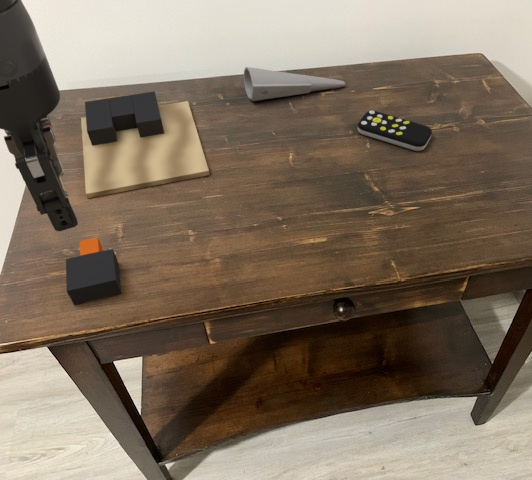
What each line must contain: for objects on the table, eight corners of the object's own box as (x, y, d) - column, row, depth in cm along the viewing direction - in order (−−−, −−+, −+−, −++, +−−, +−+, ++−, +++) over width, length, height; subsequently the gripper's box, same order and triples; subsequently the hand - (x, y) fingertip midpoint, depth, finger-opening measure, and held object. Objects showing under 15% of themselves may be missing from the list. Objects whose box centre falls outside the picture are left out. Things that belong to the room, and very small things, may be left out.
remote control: (422, 154, 92) (424, 145, 90) (354, 133, 95) (355, 124, 94) (432, 135, 96) (435, 126, 94) (367, 116, 99) (368, 106, 98)
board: (87, 198, 82) (85, 193, 81) (82, 122, 95) (80, 117, 95) (209, 175, 87) (208, 170, 86) (188, 105, 100) (187, 100, 99)
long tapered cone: (337, 54, 106) (244, 60, 100) (349, 73, 103) (253, 81, 96) (332, 78, 111) (242, 85, 104) (343, 98, 107) (251, 106, 101)
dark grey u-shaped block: (92, 145, 89) (86, 131, 87) (89, 116, 95) (84, 101, 93) (164, 133, 92) (161, 119, 90) (157, 105, 98) (154, 91, 96)
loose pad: (73, 305, 69) (66, 291, 66) (72, 258, 74) (65, 243, 72) (121, 293, 70) (116, 279, 68) (116, 248, 75) (111, 234, 73)
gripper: (-59, 28, 47) (15, 170, 59) (-54, 113, 38) (30, 258, 50) (32, 13, 49) (85, 152, 61) (55, 90, 41) (111, 234, 53)
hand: (60, 200), depth 56 cm, fingers open, 8 cm apart
